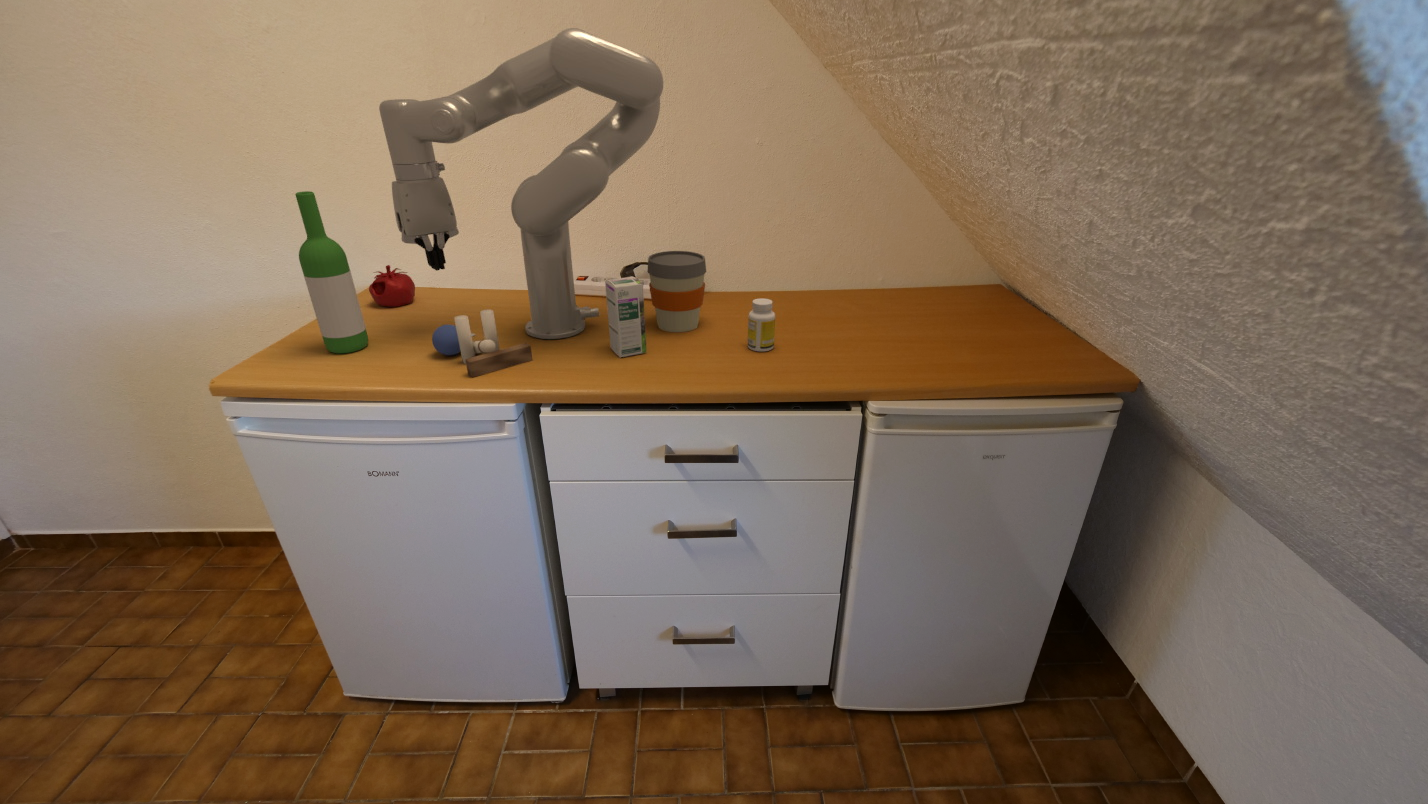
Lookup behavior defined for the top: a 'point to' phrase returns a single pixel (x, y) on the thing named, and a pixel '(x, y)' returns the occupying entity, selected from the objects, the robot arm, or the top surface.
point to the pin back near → (489, 327)
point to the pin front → (483, 346)
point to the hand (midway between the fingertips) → (438, 268)
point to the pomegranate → (392, 288)
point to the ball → (446, 340)
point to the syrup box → (626, 316)
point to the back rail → (498, 359)
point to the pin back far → (464, 337)
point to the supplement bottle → (761, 325)
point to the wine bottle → (329, 283)
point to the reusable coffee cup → (677, 288)
